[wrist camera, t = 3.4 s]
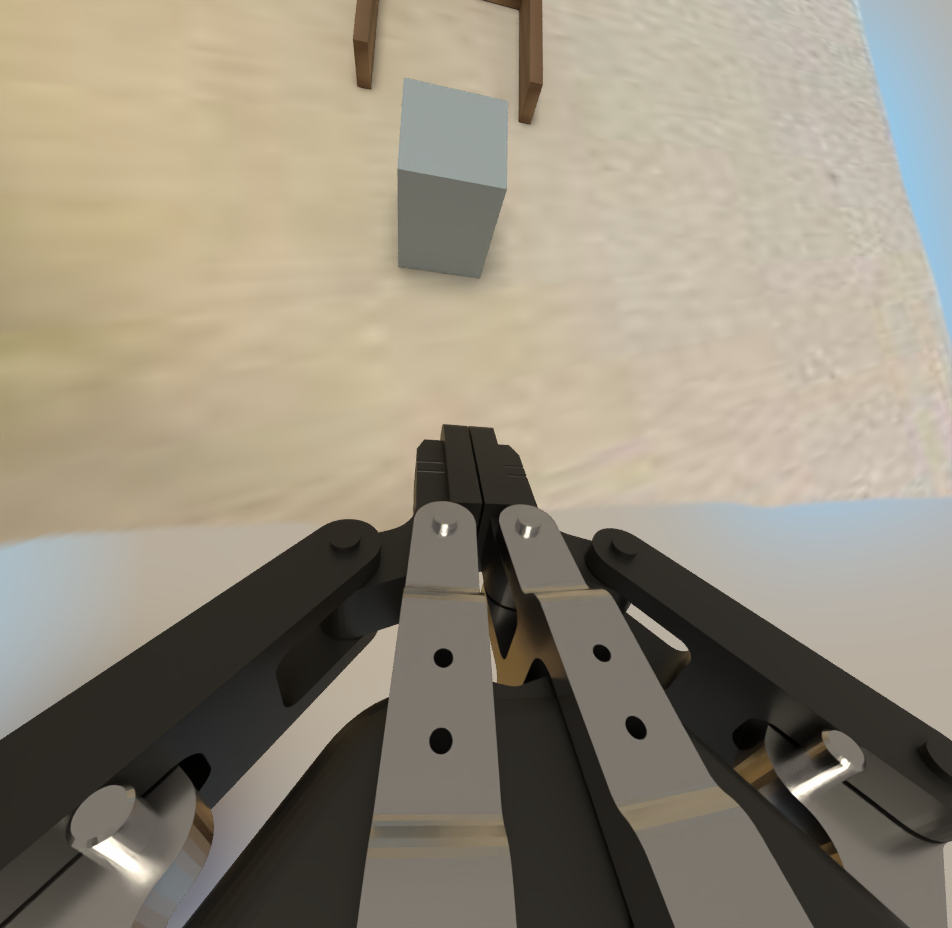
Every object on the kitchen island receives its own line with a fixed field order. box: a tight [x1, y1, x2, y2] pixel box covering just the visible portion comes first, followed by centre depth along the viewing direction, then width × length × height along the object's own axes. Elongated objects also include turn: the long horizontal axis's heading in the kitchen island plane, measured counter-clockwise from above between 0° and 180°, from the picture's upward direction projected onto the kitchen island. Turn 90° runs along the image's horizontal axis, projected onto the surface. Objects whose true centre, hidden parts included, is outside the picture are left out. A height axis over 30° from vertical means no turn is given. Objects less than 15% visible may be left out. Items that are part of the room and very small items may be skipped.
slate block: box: [398, 78, 508, 278], centre depth 26 cm, size 6×6×8 cm
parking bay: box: [353, 0, 543, 124], centre depth 32 cm, size 14×13×3 cm
